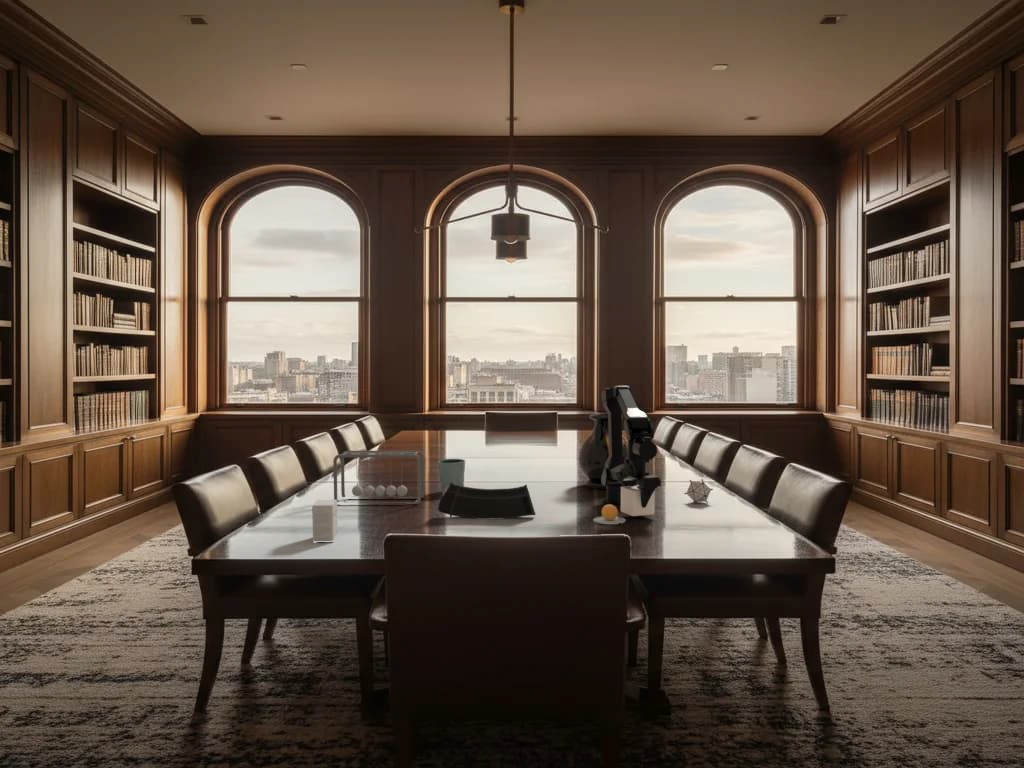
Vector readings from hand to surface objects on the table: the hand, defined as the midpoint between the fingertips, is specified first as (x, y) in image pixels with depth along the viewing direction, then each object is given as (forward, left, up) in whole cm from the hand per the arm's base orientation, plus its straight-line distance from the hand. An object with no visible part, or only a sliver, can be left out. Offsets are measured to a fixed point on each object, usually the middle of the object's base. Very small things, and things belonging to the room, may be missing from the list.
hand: (636, 505), depth 219 cm
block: (0, 0, -2) cm, 2 cm away
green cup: (-63, -42, -4) cm, 76 cm away
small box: (-11, -94, -4) cm, 95 cm away
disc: (0, -10, -4) cm, 11 cm away
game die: (-11, +31, -4) cm, 33 cm away
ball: (0, -10, -2) cm, 10 cm away
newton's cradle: (-55, -70, -4) cm, 89 cm away
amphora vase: (-51, +17, -4) cm, 54 cm away
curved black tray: (-19, -43, -4) cm, 47 cm away
